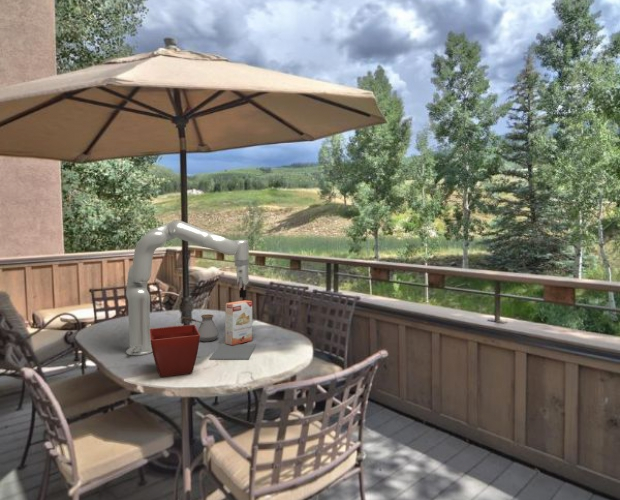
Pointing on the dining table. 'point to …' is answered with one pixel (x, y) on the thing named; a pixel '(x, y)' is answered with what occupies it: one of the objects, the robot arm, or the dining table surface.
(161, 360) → the plant pot
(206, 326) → the coffee pot
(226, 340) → the cracker box
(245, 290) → the robot arm
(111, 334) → the dining table surface
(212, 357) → the mat
